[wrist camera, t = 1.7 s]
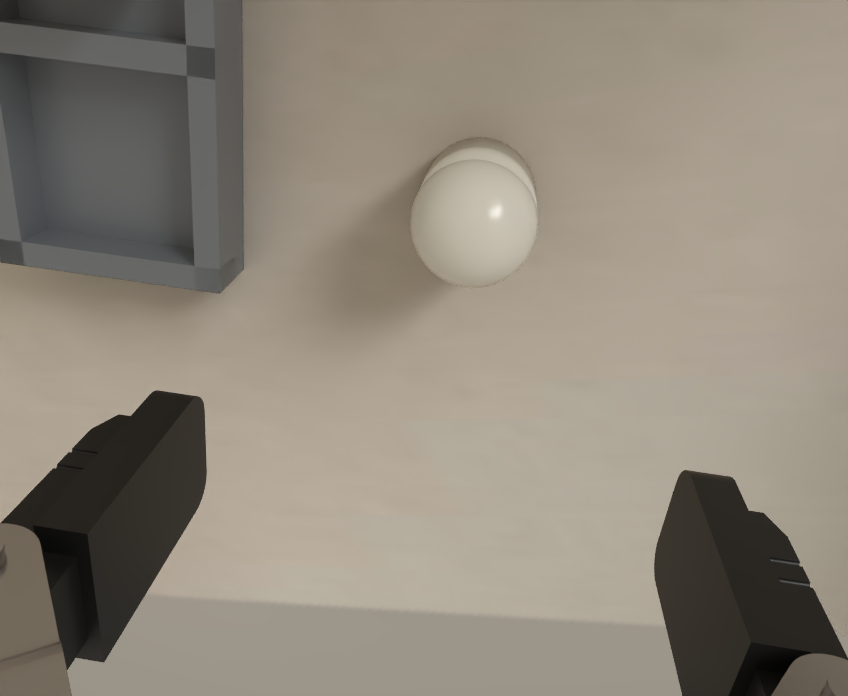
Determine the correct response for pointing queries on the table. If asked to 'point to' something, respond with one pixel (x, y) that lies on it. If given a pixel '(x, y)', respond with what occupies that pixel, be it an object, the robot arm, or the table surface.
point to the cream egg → (475, 213)
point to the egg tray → (123, 139)
